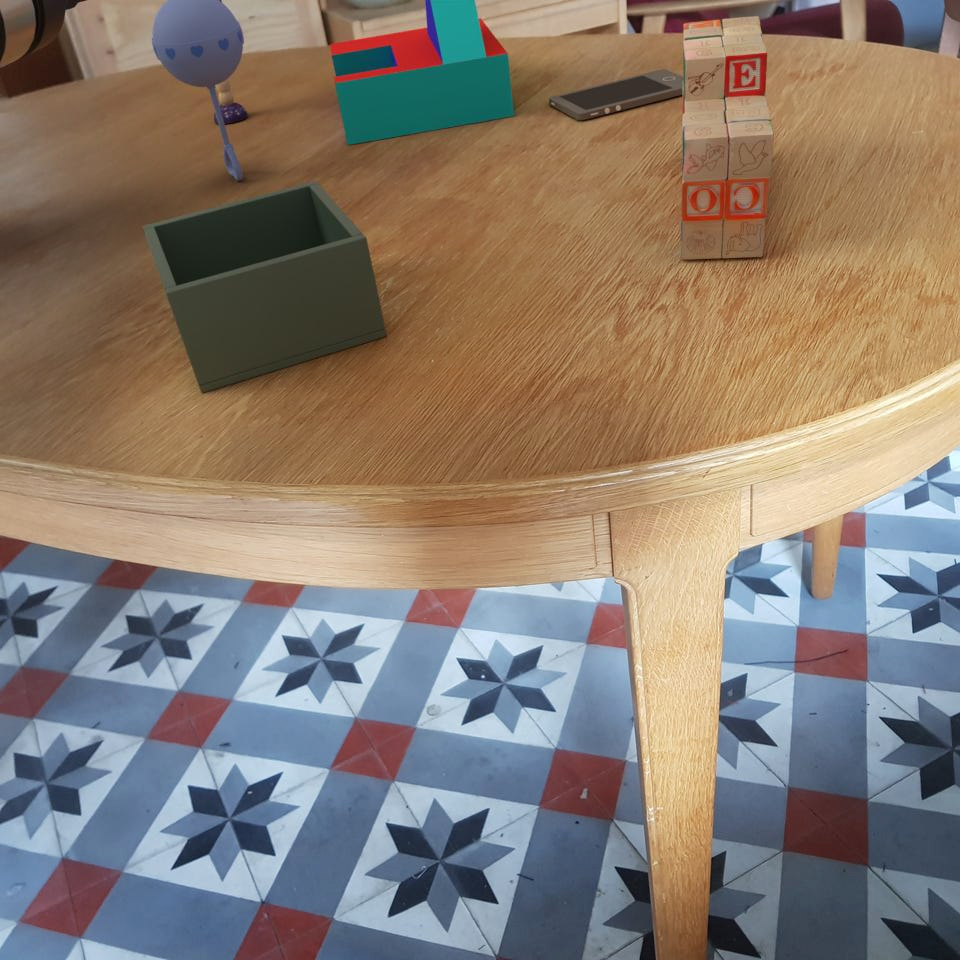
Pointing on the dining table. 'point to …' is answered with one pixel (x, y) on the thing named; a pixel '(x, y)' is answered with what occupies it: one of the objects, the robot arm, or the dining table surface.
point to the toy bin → (266, 283)
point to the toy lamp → (229, 104)
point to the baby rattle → (200, 51)
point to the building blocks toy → (423, 76)
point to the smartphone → (619, 94)
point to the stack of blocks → (724, 139)
